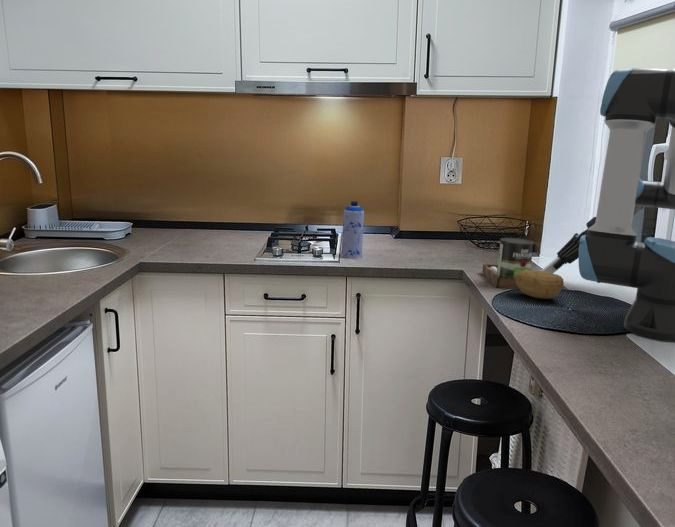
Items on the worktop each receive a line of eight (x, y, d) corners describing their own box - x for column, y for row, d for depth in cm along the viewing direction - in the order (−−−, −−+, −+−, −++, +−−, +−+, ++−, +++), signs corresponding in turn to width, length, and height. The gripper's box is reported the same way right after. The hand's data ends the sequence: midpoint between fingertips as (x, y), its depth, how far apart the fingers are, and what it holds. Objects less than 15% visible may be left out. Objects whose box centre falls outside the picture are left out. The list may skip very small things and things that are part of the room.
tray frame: (540, 289, 195) (541, 280, 194) (496, 287, 194) (497, 278, 194) (522, 274, 213) (523, 265, 213) (482, 272, 213) (483, 263, 212)
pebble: (498, 276, 209) (499, 267, 208) (489, 276, 209) (490, 267, 208) (496, 274, 212) (497, 265, 211) (487, 273, 212) (488, 265, 211)
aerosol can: (356, 253, 233) (359, 199, 228) (365, 258, 226) (369, 203, 221) (337, 254, 230) (340, 200, 225) (346, 259, 223) (349, 203, 218)
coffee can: (535, 287, 197) (540, 243, 194) (506, 288, 194) (511, 243, 191) (517, 279, 207) (522, 237, 203) (489, 279, 204) (494, 237, 200)
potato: (520, 289, 194) (523, 264, 192) (566, 299, 185) (569, 273, 183) (507, 295, 186) (510, 269, 184) (554, 306, 178) (558, 279, 176)
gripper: (620, 237, 192) (559, 287, 195) (602, 229, 204) (545, 277, 208) (605, 219, 190) (544, 270, 194) (588, 212, 203) (531, 260, 206)
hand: (545, 273), depth 201 cm, fingers closed
